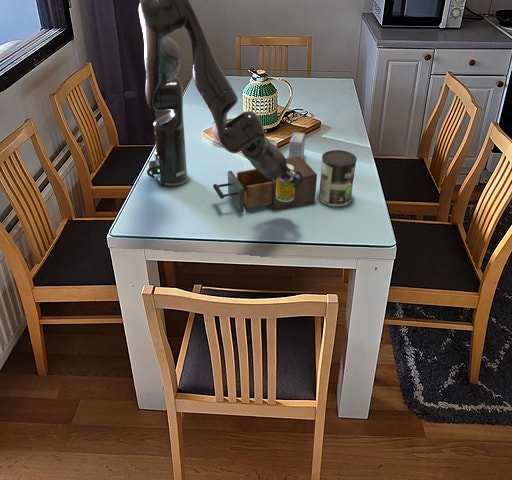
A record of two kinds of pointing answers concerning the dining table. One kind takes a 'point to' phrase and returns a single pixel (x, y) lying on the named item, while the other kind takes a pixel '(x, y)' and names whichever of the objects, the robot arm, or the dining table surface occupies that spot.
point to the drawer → (247, 189)
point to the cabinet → (306, 189)
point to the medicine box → (297, 145)
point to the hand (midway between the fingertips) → (289, 182)
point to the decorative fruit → (216, 129)
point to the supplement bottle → (285, 189)
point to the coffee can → (337, 177)
